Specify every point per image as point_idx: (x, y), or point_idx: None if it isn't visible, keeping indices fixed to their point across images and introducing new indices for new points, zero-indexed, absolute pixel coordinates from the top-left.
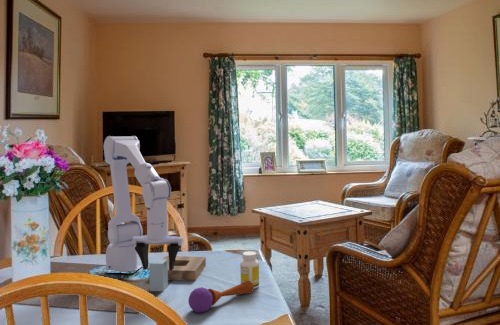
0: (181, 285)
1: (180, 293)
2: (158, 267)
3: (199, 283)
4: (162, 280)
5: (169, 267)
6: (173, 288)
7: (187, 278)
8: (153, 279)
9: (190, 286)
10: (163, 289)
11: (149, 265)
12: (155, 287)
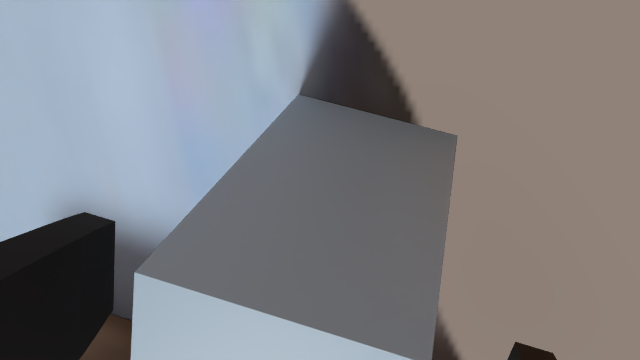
0: (148, 216)
1: (107, 5)
2: (254, 256)
3: (4, 227)
4: (266, 143)
5: (75, 231)
6: (208, 156)
7: (112, 328)
8: (391, 182)
9: (60, 175)
10: (292, 103)
11: (427, 329)
12: (382, 134)
